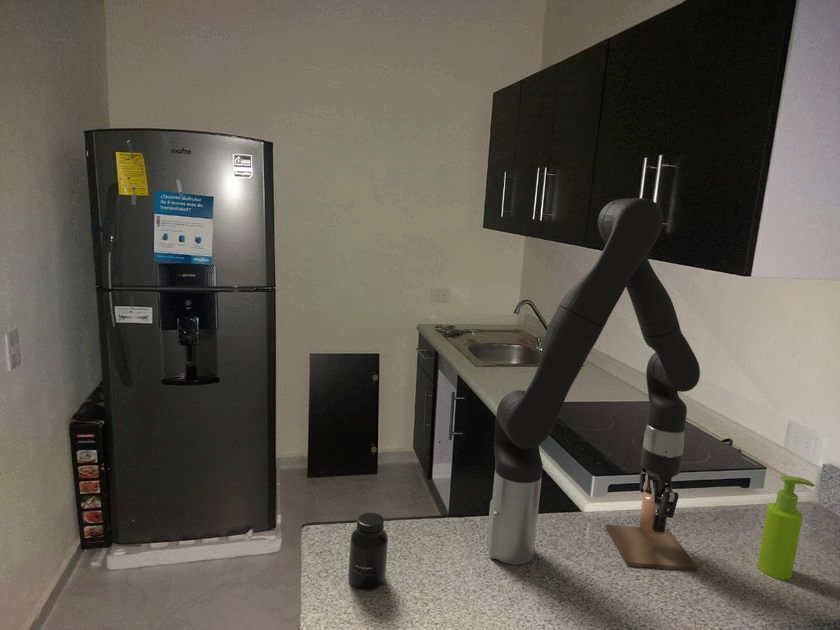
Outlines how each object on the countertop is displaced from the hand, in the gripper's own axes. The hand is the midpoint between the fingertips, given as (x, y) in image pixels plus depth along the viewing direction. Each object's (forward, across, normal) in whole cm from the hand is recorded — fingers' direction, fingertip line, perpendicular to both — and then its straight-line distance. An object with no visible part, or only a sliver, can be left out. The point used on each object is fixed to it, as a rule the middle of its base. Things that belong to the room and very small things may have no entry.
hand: (652, 523), depth 115 cm
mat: (+6, 0, 0) cm, 6 cm away
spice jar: (+1, 0, 0) cm, 1 cm away
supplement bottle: (+6, +17, -58) cm, 61 cm away
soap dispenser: (+6, +5, +24) cm, 25 cm away
